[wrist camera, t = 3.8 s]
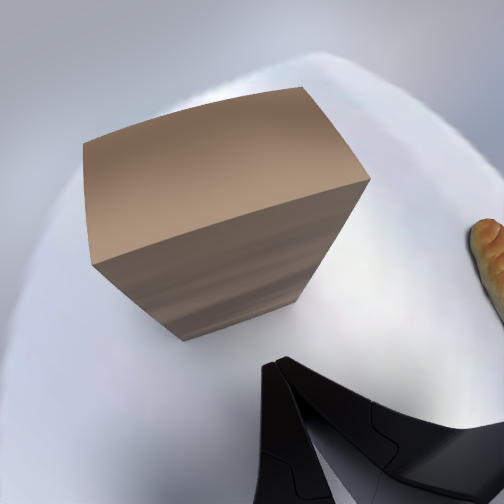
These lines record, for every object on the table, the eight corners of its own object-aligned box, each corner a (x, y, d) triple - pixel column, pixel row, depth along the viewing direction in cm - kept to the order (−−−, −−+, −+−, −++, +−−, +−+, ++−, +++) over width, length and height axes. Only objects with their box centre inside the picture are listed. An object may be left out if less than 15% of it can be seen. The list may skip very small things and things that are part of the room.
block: (295, 302, 18) (370, 178, 7) (183, 341, 17) (91, 265, 6) (270, 245, 20) (302, 86, 9) (164, 279, 19) (82, 143, 8)
